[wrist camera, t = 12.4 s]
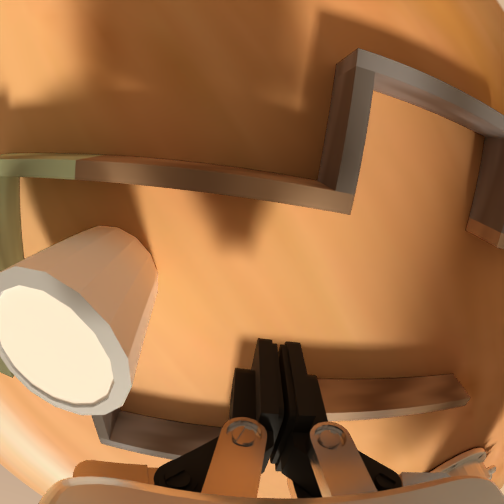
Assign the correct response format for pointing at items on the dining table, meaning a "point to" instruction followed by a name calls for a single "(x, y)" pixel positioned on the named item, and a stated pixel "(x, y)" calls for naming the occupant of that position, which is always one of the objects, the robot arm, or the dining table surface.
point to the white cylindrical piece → (79, 318)
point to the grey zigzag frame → (294, 193)
